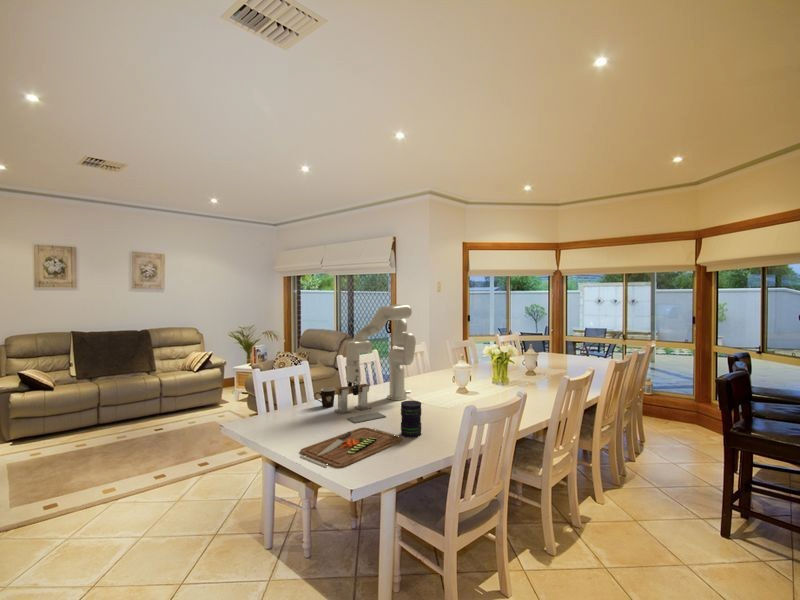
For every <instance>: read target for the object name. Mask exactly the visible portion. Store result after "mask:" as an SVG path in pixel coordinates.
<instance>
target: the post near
mask: <svg viewBox="0 0 800 600" xmlns="http://www.w3.org/2000/svg"><path fill="white" fill-rule="evenodd" d="M349 395H350V394H349V389H344V390H341V395H340V396H339V395H337V408H335V409H334V412H335V413H337V414H338V415H342V414H343V415H344V414H347V413H352V410H350V409H348V396H349Z"/></svg>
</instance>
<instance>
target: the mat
mask: <svg viewBox="0 0 800 600" xmlns="http://www.w3.org/2000/svg"><path fill="white" fill-rule="evenodd" d="M386 417H387V415H384V414H382V413H380V412H379V411H376V412H372V413H366V414H361V415H354V416H350V417H347V418H346V420H349V421H350V422H352V423H353V424H359V423H364V422H368V421H373V420H378V419H383V418H386Z"/></svg>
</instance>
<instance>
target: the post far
mask: <svg viewBox="0 0 800 600" xmlns="http://www.w3.org/2000/svg"><path fill="white" fill-rule="evenodd" d="M369 390H370V385H369V386H364V387H362V392H359V393H358V395H357V405H354V408H355V409H357V410H358V411H365V410H371V409H372V407H371V406H369V405H368V393H369Z"/></svg>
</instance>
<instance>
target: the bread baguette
mask: <svg viewBox="0 0 800 600" xmlns="http://www.w3.org/2000/svg"><path fill="white" fill-rule="evenodd" d="M364 386H369V387H370V385H369V384H368V383H362V384H361V383H360V385H359V388H358V393H359V392H362V387H364ZM353 388H354V387H353V386H340V387H336V388H335V394H336V395H337V396H338V395H339V396H340V395H341V390H344V389H349V395H353Z"/></svg>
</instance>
